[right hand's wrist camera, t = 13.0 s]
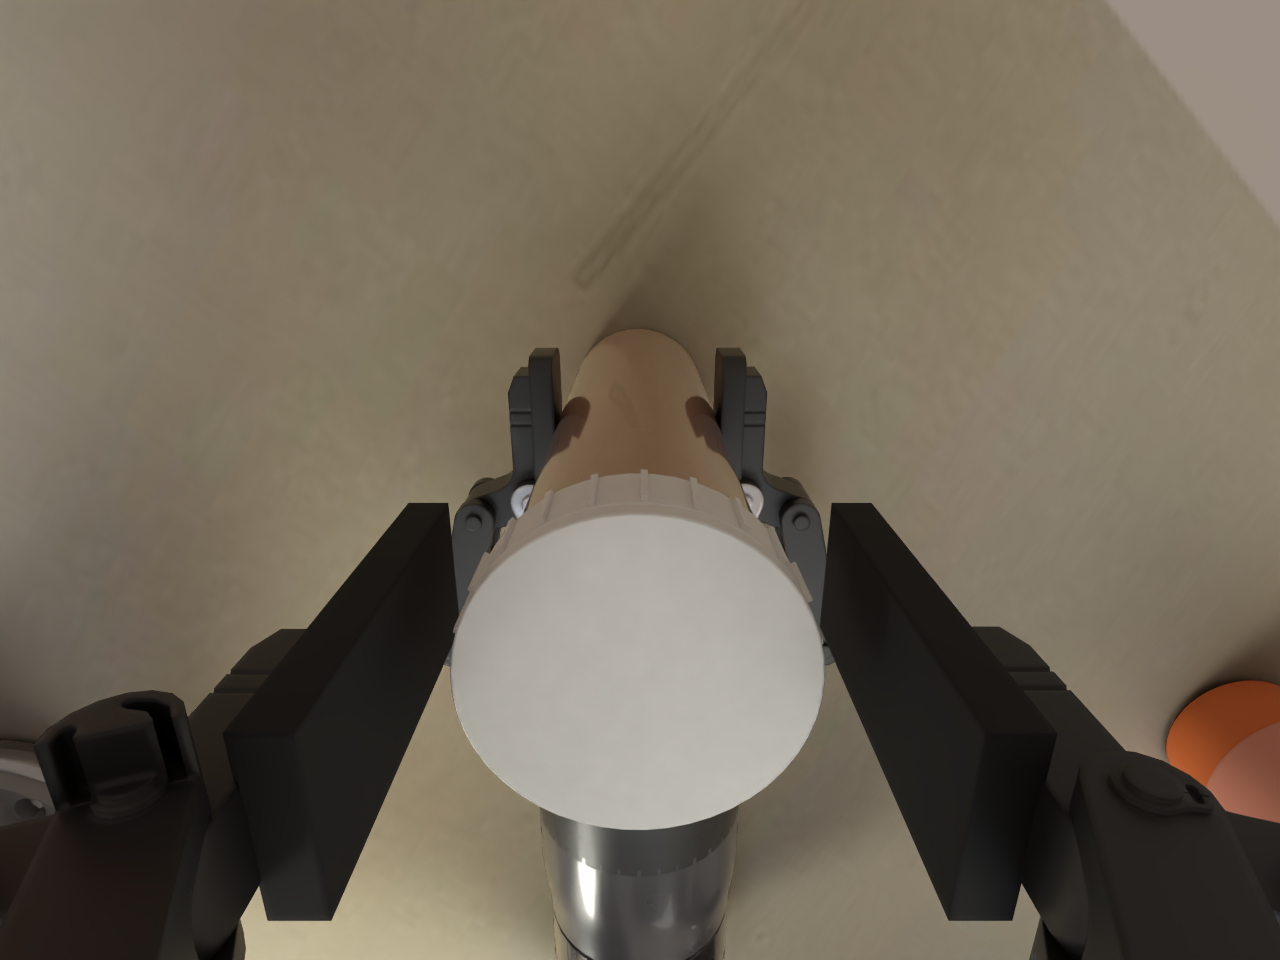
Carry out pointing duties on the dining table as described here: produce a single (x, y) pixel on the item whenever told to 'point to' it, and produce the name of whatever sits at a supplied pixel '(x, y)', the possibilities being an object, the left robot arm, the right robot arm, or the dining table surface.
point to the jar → (637, 420)
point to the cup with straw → (1233, 746)
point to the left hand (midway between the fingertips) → (636, 354)
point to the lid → (637, 654)
